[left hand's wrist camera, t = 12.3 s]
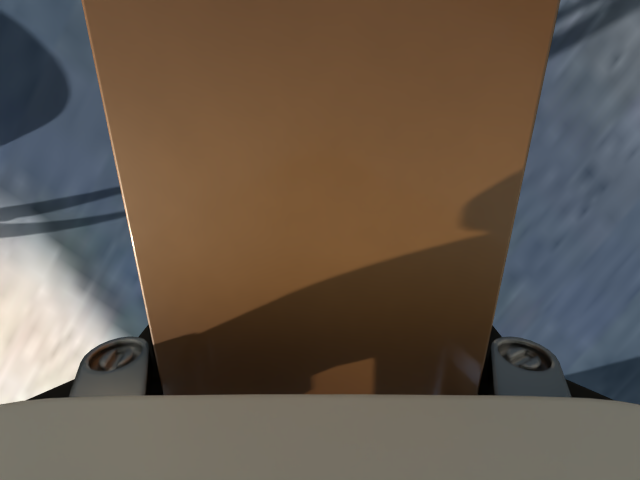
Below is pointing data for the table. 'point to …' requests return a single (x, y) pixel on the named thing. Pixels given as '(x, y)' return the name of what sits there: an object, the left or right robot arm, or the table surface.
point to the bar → (320, 183)
